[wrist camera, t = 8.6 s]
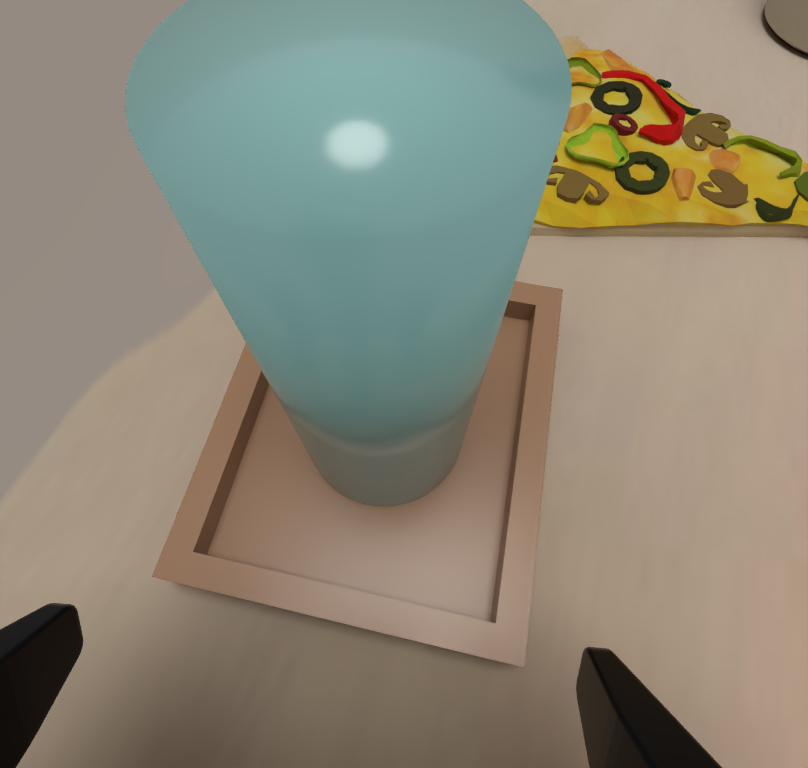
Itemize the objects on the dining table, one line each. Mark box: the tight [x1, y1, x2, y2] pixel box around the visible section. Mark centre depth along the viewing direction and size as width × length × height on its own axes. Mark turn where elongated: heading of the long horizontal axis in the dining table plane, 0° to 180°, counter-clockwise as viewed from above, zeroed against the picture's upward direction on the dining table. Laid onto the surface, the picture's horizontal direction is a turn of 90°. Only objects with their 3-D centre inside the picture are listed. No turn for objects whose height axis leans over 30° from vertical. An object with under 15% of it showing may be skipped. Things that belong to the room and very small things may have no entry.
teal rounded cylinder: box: [125, 0, 572, 506], centre depth 13 cm, size 6×6×14 cm
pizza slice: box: [529, 37, 808, 237], centre depth 25 cm, size 16×21×3 cm
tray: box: [152, 281, 563, 668], centre depth 19 cm, size 14×12×2 cm
